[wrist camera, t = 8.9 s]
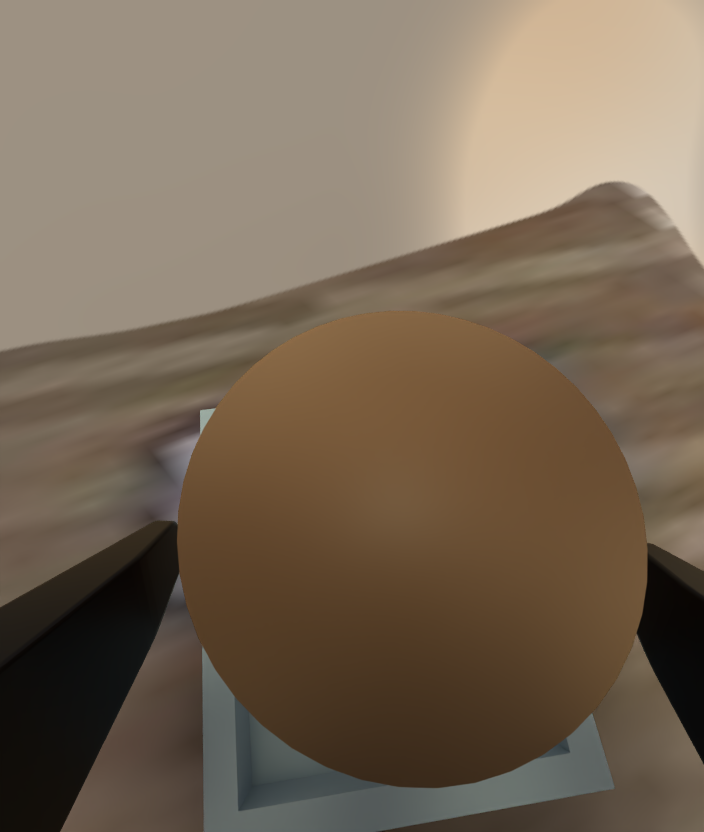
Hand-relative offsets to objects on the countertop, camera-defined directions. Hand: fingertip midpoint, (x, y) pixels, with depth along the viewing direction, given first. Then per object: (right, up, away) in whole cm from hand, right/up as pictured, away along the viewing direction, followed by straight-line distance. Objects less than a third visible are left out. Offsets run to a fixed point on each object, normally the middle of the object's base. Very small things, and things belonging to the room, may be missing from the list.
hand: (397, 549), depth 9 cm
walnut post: (0, -3, +8) cm, 9 cm away
